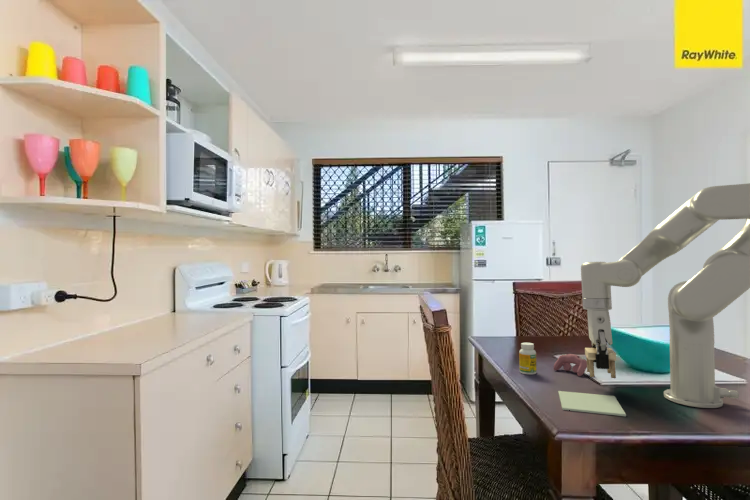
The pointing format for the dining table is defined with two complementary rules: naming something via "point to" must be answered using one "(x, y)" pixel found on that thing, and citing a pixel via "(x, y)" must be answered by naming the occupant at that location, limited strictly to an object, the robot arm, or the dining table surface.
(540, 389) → the dining table surface
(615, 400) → the mat
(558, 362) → the video game controller
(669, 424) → the dining table surface
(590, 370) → the stool
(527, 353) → the supplement bottle
